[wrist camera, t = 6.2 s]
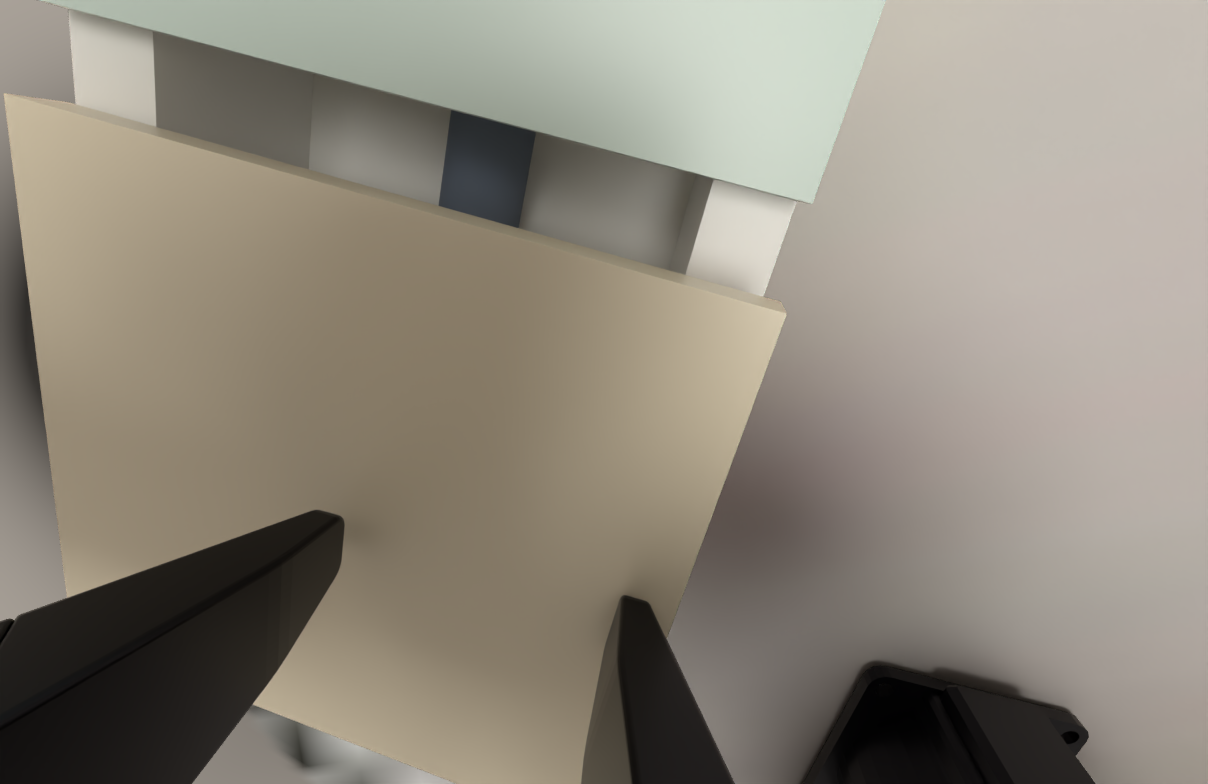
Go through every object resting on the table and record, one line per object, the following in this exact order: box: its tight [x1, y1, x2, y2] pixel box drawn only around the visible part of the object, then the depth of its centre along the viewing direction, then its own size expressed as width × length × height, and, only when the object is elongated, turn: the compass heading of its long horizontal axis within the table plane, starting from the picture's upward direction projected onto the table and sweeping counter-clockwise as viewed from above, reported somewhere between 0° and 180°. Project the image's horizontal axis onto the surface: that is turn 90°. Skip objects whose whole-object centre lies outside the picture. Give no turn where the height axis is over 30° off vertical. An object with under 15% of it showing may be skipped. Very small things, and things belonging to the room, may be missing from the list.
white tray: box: [68, 9, 797, 297], centre depth 11 cm, size 20×12×5 cm, turn 166°
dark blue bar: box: [438, 110, 536, 228], centre depth 11 cm, size 16×2×2 cm, turn 166°
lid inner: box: [4, 93, 787, 784], centre depth 9 cm, size 9×10×1 cm
